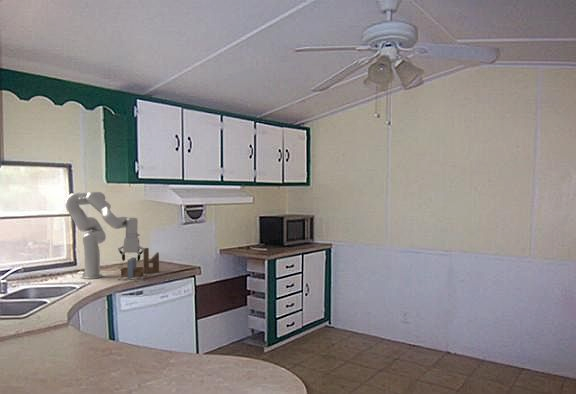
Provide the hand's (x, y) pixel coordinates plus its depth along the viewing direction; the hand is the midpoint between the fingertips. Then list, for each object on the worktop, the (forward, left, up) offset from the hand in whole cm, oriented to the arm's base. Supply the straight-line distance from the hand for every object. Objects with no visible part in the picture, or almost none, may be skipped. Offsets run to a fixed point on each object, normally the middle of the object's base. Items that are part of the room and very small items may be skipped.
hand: (131, 260), depth 283 cm
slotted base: (+1, 0, -12) cm, 12 cm away
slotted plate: (+1, 0, -11) cm, 11 cm away
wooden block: (+10, +17, -12) cm, 23 cm away
